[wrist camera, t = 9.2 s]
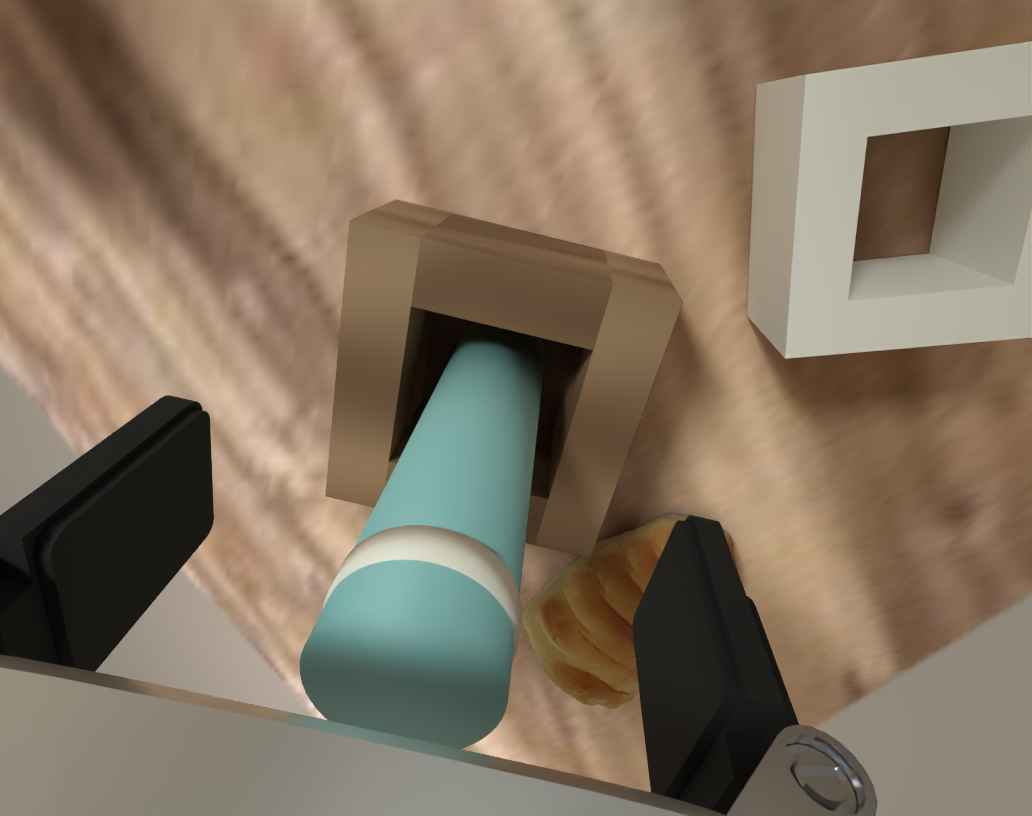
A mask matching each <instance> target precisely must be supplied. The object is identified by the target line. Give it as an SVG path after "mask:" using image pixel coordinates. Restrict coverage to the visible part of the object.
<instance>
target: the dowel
mask: <svg viewBox="0 0 1032 816" xmlns="http://www.w3.org/2000/svg"><path fill="white" fill-rule="evenodd" d="M544 364H545V349H544V345H543V342H542V339H541V338H540V337H536V336H532V335H528V334H524V333H519V332H515V331H511V330H507V329H503V328H499V327H494V326H490V325H486V324H482V323H478V322H472V323H471V324H470V325H469V326H468V327H467V329H466V330H465V331H464V333H463V335H462V337H461V339H460V340H459V342H458V344H457V346H456V348H455V350H454V352H453V354H452V356H451V358H450V360H449V362H448V364H447V366H446V368H445V370H444V372H443V374H442V376H441V378H440V380H439V382H438V384H437V386H436V388H435V390H434V392H433V394H432V396H431V398H430V400H429V402H428V404H427V406H426V407H425V409H424V411H423V413H422V415H421V417H420V419H419V421H418V423H417V425H416V427H415V429H414V431H413V433H412V435H411V437H410V439H409V441H408V443H407V445H406V447H405V449H404V451H403V453H402V455H401V457H400V459H399V461H398V463H397V465H396V467H395V469H394V471H393V472H392V474H391V476H390V478H389V480H388V482H387V484H386V486H385V488H384V490H383V492H382V494H381V496H380V498H379V500H378V502H377V504H376V506H375V508H374V510H373V512H372V514H371V516H370V518H369V520H368V522H367V524H366V526H365V528H364V530H363V532H362V534H361V536H360V538H359V539H358V541H357V543H356V545H355V547H354V549H353V550H352V551H351V552H350V553H349V554H348V556H347V558H346V559H345V561H344V563H343V565H342V567H341V568H340V570H339V572H338V574H337V576H336V578H335V580H334V582H333V584H332V586H331V588H330V590H329V592H328V594H327V596H326V599H325V601H324V604H323V609H322V612H321V614H320V616H319V618H318V620H317V622H316V624H315V626H314V628H313V630H312V632H311V634H310V636H309V638H308V640H307V642H306V644H305V646H304V649H303V651H302V654H301V659H300V675H301V680H302V684H303V686H304V689H305V692H306V693H307V695H308V697H309V699H310V700H311V702H312V703H313V704H314V706H315V707H316V708H317V710H318V711H319V712H320V713H321V714H322V715H323V716H324V717H325V718H326V719H327V720H329V721H332V722H337V723H342V724H346V725H351V726H356V727H360V728H365V729H370V730H374V731H379V732H384V733H388V734H393V735H398V736H402V737H407V738H411V739H416V740H421V741H425V742H430V743H435V744H439V745H444V746H448V747H453V748H457V749H462V748H465V747H467V746H470V745H472V744H474V743H476V742H478V741H480V740H481V739H483V738H484V737H486V736H487V735H488V734H489V733H491V732H492V731H493V730H494V729H495V727H496V726H497V725H498V724H499V722H500V721H501V719H502V718H503V715H504V713H505V711H506V707H507V703H508V695H509V686H510V677H511V668H512V662H513V660H514V657H515V653H516V649H517V640H518V630H519V620H520V609H521V601H520V585H521V576H522V566H523V557H524V548H525V539H526V529H527V520H528V511H529V502H530V493H531V483H532V474H533V465H534V456H535V447H536V437H537V428H538V419H539V410H540V401H541V391H542V382H543V373H544Z"/></svg>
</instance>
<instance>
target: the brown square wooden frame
mask: <svg viewBox="0 0 1032 816" xmlns="http://www.w3.org/2000/svg"><path fill="white" fill-rule="evenodd" d="M682 303H683V301H682V299H681V298H680V296H679V294H678V293H677V291H676V289H675V288H674V286H673V284H672V283H671V281H670V280H669V278H668V276H667V275H666V273H665V271H664V270H663V268H662V267H661V265H660V264H658V263H653V262H649V261H645V260H641V259H637V258H633V257H629V256H625V255H621V254H617V253H613V252H609V251H604V250H600V249H596V248H592V247H588V246H584V245H580V244H576V243H572V242H568V241H564V240H559V239H555V238H551V237H547V236H543V235H539V234H535V233H531V232H527V231H523V230H519V229H515V228H510V227H506V226H502V225H498V224H494V223H490V222H486V221H482V220H478V219H474V218H470V217H466V216H461V215H457V214H453V213H449V212H445V211H441V210H437V209H433V208H429V207H425V206H421V205H417V204H412V203H408V202H404V201H400V200H394V201H392V202H389V203H387V204H385V205H383V206H381V207H378V208H376V209H374V210H372V211H369V212H367V213H365V214H363V215H361V216H358V217H356V218H354V219H352V220H350V222H349V234H348V245H347V257H346V268H345V279H344V291H343V302H342V314H341V325H340V336H339V348H338V359H337V371H336V382H335V393H334V405H333V416H332V428H331V439H330V450H329V462H328V473H327V485H326V496H327V497H331V498H335V499H340V500H344V501H348V502H352V503H357V504H361V505H365V506H370V507H374V508H375V506H376V504H377V502H378V500H379V498H380V496H381V494H382V492H383V490H384V488H385V486H386V484H387V482H388V480H389V478H390V476H391V474H392V472H393V471H394V469H395V467H396V465H397V463H398V461H399V459H400V457H401V455H402V453H403V451H404V449H405V447H406V445H407V443H408V441H409V439H410V437H411V435H412V433H413V431H414V429H415V427H416V425H417V423H418V421H419V419H420V417H421V415H422V413H423V411H424V409H425V407H426V406H427V404H428V402H424V401H421V400H422V394H423V388H424V382H425V376H426V370H427V363H428V357H429V351H430V345H431V339H432V333H433V327H434V321H435V315H436V313H441V314H445V315H449V316H453V317H457V318H461V319H465V320H470V321H474V322H478V323H482V324H486V325H490V326H494V327H499V328H503V329H507V330H511V331H515V332H519V333H524V334H528V335H532V336H536V337H540V338H544V339H548V340H553V341H557V342H561V343H565V344H569V345H573V346H577V349H576V352H575V356H574V359H573V363H572V366H571V370H570V373H569V377H568V380H567V383H566V387H565V390H564V394H563V397H562V401H561V404H560V408H559V411H558V415H557V418H556V422H555V425H554V429H553V432H551V431H546V430H542V429H538V428H537V437H536V447H535V456H534V465H533V474H532V483H531V493H530V502H529V511H528V520H527V529H526V539H525V543H528V544H533V545H537V546H541V547H545V548H550V549H554V550H558V551H563V552H567V553H571V554H575V555H580V556H584V557H588V558H590V557H591V554H592V551H593V548H594V545H595V543H596V540H597V537H598V534H599V532H600V529H601V526H602V523H603V521H604V518H605V515H606V512H607V510H608V507H609V504H610V501H611V499H612V496H613V493H614V490H615V488H616V485H617V482H618V479H619V477H620V474H621V471H622V468H623V466H624V463H625V460H626V457H627V455H628V452H629V449H630V446H631V444H632V441H633V438H634V435H635V432H636V430H637V427H638V424H639V421H640V419H641V416H642V413H643V410H644V408H645V405H646V402H647V399H648V397H649V394H650V391H651V388H652V386H653V383H654V380H655V377H656V375H657V372H658V369H659V366H660V364H661V361H662V358H663V355H664V353H665V350H666V347H667V344H668V342H669V339H670V336H671V333H672V331H673V328H674V325H675V322H676V319H677V317H678V314H679V311H680V308H681V306H682Z"/></svg>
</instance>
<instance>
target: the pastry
mask: <svg viewBox="0 0 1032 816" xmlns="http://www.w3.org/2000/svg"><path fill="white" fill-rule="evenodd" d="M688 516H690V515H686V514H678V513H671V514H666V515H663V516H659V517H656V518H654V519H652V520H651V521H649V522H648V523H647V524H646V525H643V526H640V527H638V528H637V529H634V530H629V531H626V532H623V533H621V534H619V535H616V536H612V537H607V538H603V539H601V540H598V541H596V543H595V545H594V548H593V551H592V554H591V557H590V558H588V557H584V556H579V557H578V558H577V559H576V560H575V561H574V562H572V563H571V564H570V565H569V566H567V567H566V568H564V569H563V570H561V571H559V572H558V573H557V574H556V575H555V576H554V577H553V578H552V579H551V580H550V581H549V582H548V583H547V584H546V585H545V586H544V587H543V588H542V589H541V591H540V592H539V593H538V594H537V595H536V596H535V597H534V598H533V599H532V600H531V601H530V602H529V604H528V605H527V606H526V607H525V609H524V610H523V614H522V622H523V626H524V628H525V630H526V632H527V633H528V635H529V637H530V643H531V646H532V647H533V649H534V650H535V652H536V653H537V654H538V655H539V657H540V659H541V661H542V665H543V668H544V670H545V672H546V673H547V675H548V676H549V678H550V679H551V680H552V681H553V682H554V683H555V684H556V685H558V686H559V687H560V688H561V689H562V690H563V691H564V692H566V693H568V694H569V695H571V696H572V697H574V698H575V699H577V700H578V701H580V702H582V703H583V704H588V705H596V704H600V705H602V706H605V707H608V708H618V707H619V706H620V704H622V703H625V702H628V701H630V700H631V699H632V698H633V696H634V695H635V694H636V693H637V692H639V684H638V675H637V667H636V658H635V650H634V641H633V633H632V625H633V618H634V614H635V612H636V609H637V607H638V605H639V603H640V600H641V598H642V596H643V594H644V592H645V589H646V587H647V585H648V583H649V580H650V578H651V576H652V574H653V572H654V569H655V567H656V565H657V563H658V560H659V558H660V556H661V554H662V551H663V549H664V547H665V545H666V543H667V540H668V538H669V536H670V534H671V531H672V529H673V527H674V525H675V523H676V522H677V521H678V520H681V521H685V519H686V518H687V517H688ZM722 529H723V528H722ZM723 532H724V535H725V537H726V540H727V543H728V546H729V549H730V552H731V554H732V557H733V560H734V563H735V566H736V562H735V557H734V553H733V548H732V546H733V542H732V539H731V537H730V535H729V533H728V532H727V531H725V530H724V529H723ZM736 568H737V566H736Z"/></svg>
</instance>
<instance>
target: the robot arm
mask: <svg viewBox="0 0 1032 816" xmlns="http://www.w3.org/2000/svg"><path fill="white" fill-rule="evenodd" d="M213 520H214V513H213V487H212V461H211V436H210V417H209V414H208V413H207V412H206V411H202V407H201V405H200V403H198V402H196V401H191V400H187V399H183V398H178V397H174V396H164V397H162V398H160V399H159V400H158V401H156V402H155V403H154V404H152V405H151V406H149V407H148V408H147V409H145V410H144V411H143V412H141V413H140V414H139V415H137V416H136V417H134V418H133V419H132V420H130V421H129V422H128V423H126V424H125V425H123V426H122V427H121V428H119V429H118V430H117V431H115V432H114V433H112V434H111V435H110V436H108V437H107V438H106V439H104V440H103V441H102V442H100V443H99V444H97V445H96V446H95V447H93V448H92V449H91V450H89V451H88V452H86V453H85V454H84V455H82V456H81V457H80V458H78V459H77V460H76V461H74V462H73V463H72V464H70V465H69V466H67V467H66V468H65V469H63V470H62V471H60V472H59V473H58V474H56V475H55V476H54V477H52V478H51V479H49V480H48V481H47V482H45V483H44V484H43V485H41V486H40V487H39V488H37V489H36V490H34V491H33V492H32V493H30V494H29V495H28V496H26V497H25V498H23V499H22V500H21V501H19V502H18V503H17V504H15V505H14V506H13V507H11V508H10V509H8V510H7V511H6V512H4V513H3V514H2V515H0V816H875V815H876V809H877V798H876V794H875V790H874V786H873V784H872V782H871V780H870V778H869V777H868V774H867V773H866V770H864V768H863V767H862V765H861V764H860V763H859V762H858V760H857V759H856V757H855V756H854V755H853V754H852V753H851V752H850V751H849V750H847V749H846V748H845V747H844V746H843V745H842V744H841V743H840V742H839V741H837V740H836V739H834V738H833V737H831V736H830V735H828V734H826V733H825V732H823V731H820V730H818V729H815V728H813V727H810V726H804V725H799V723H798V720H797V718H796V715H795V712H794V710H793V707H792V704H791V701H790V699H789V696H788V693H787V690H786V688H785V685H784V682H783V680H782V677H781V674H780V671H779V669H778V666H777V663H776V660H775V658H774V655H773V652H772V650H771V647H770V644H769V641H768V639H767V636H766V633H765V630H764V628H763V625H762V622H761V620H760V617H759V614H758V611H757V609H756V606H755V604H754V602H753V601H752V600H751V599H750V598H749V597H748V596H746V594H745V591H744V588H743V585H742V582H741V580H740V577H739V574H738V571H737V568H736V566H735V563H734V560H733V557H732V554H731V552H730V549H729V546H728V543H727V540H726V537H725V535H724V532H723V529H722V526H721V524H720V523H719V522H718V521H714V520H710V519H705V518H701V517H697V516H692V515H690V516H688V517H687V518H686V519H685V521H681V520H678V521H677V522H676V523H675V525H674V527H673V529H672V531H671V534H670V536H669V538H668V540H667V543H666V545H665V547H664V549H663V551H662V554H661V556H660V558H659V560H658V563H657V565H656V567H655V569H654V572H653V574H652V576H651V578H650V580H649V583H648V585H647V587H646V589H645V592H644V594H643V596H642V598H641V600H640V603H639V605H638V607H637V609H636V612H635V614H634V618H633V625H632V633H633V641H634V650H635V658H636V667H637V675H638V684H639V692H640V701H641V709H642V718H643V726H644V735H645V744H646V752H647V761H648V769H649V778H650V786H651V793H650V792H646V791H642V790H638V789H634V788H629V787H625V786H621V785H617V784H613V783H609V782H604V781H600V780H596V779H592V778H588V777H583V776H579V775H575V774H571V773H566V772H562V771H557V770H553V769H548V768H544V767H539V766H534V765H530V764H525V763H521V762H516V761H512V760H507V759H503V758H498V757H494V756H489V755H485V754H480V753H475V752H471V751H466V750H462V749H457V748H453V747H448V746H444V745H439V744H435V743H430V742H425V741H421V740H416V739H411V738H407V737H402V736H398V735H393V734H388V733H384V732H379V731H374V730H370V729H365V728H360V727H356V726H351V725H346V724H342V723H337V722H332V721H328V720H323V719H318V718H314V717H309V716H304V715H299V714H295V713H290V712H286V711H281V710H276V709H272V708H267V707H262V706H258V705H253V704H248V703H243V702H238V701H233V700H229V699H223V698H219V697H214V696H210V695H205V694H200V693H195V692H190V691H186V690H181V689H176V688H171V687H166V686H162V685H156V684H152V683H147V682H142V681H137V680H133V679H128V678H123V677H118V676H113V675H109V674H103V673H98V672H95V671H96V670H97V669H98V667H99V666H100V665H101V664H102V663H103V661H104V660H105V659H106V658H107V657H108V655H109V654H110V653H111V652H112V651H113V649H114V648H115V647H116V646H117V645H118V643H119V642H120V641H121V640H122V639H123V637H124V636H125V635H126V634H127V633H128V631H129V630H130V629H131V628H132V626H133V625H134V624H135V623H136V622H137V620H138V619H139V618H140V617H141V616H142V614H143V613H144V612H145V611H146V610H147V608H148V607H149V606H150V605H151V604H152V602H153V601H154V600H155V599H156V597H157V596H158V595H159V594H160V593H161V591H162V590H163V589H164V588H165V586H166V585H167V584H168V583H169V582H170V581H171V580H172V578H173V577H174V576H175V575H176V574H177V572H178V571H179V570H180V569H181V568H182V566H183V565H184V564H185V563H186V561H187V560H188V559H189V558H190V557H191V555H192V554H193V553H194V552H195V551H196V549H197V548H198V547H199V546H200V545H201V543H202V542H203V541H204V540H205V539H206V537H207V536H208V534H209V533H210V531H211V528H212V525H213Z"/></svg>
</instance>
